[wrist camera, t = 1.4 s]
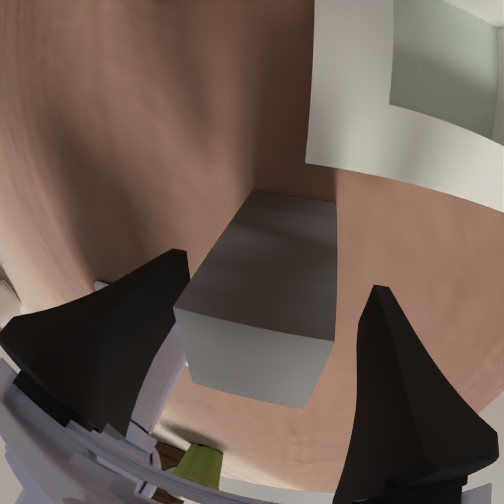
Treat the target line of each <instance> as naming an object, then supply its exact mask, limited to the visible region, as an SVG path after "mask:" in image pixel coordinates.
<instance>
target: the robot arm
mask: <svg viewBox="0 0 504 504" xmlns="http://www.w3.org/2000/svg"><path fill="white" fill-rule="evenodd" d="M189 282H190V274H189V267H188V259H187V252H186V251H184V250H178V249H171V250H169V251H167V252H165V253H163V254H162V255H160V256H158V257H156V258H155V259H153V260H151V261H150V262H148V263H146V264H145V265H143V266H141V267H140V268H138V269H136V270H135V271H133V272H131V273H129V274H128V275H126V276H124V277H122V278H120V279H119V280H117V281H115V282H113V283H111V284H110V285H109V284H106V283H103V282H100V281H96V282H95V283H94V287H95V290H96V291H95V292H93V293H91V294H89V295H87V296H84V297H82V298H79V299H76V300H74V301H71V302H69V303H66V304H63V305H60V306H57V307H54V308H51V309H47V310H43V311H39V312H35V313H30V314H25V315H20V316H14V317H13V318H11V320H10V321H9V322H8V323H7V324H6V325H5V326H4V328H3V329H2V330H1V331H0V345H1V347H2V348H3V349H4V350H5V352H6V353H7V354H8V355H9V356H10V358H11V359H12V360H13V361H14V362H15V364H16V365H17V366H18V367H19V368H20V369H21V371H20V372H19V374H17V373H16V371H15V370H14V369H13V368H12V367H10V365H8V363H7V362H6V361H5V360H4V359H3V358H0V435H1V437H2V439H3V440H4V442H5V443H6V445H5V448H6V450H7V451H6V453H5V458H6V460H7V462H8V464H9V465H10V467H11V469H12V471H13V472H14V474H15V476H16V477H17V478H18V480H19V482H20V483H21V485H22V487H23V490H22V492H21V494H20V495H19V497H18V499H17V501H16V503H15V504H162V503H160V502H158V501H155V500H153V499H151V497H152V496H153V494H154V492H155V491H156V488H157V487H159V488H161V489H163V490H166V491H168V492H171V493H173V494H176V495H178V496H181V497H184V498H186V499H189V500H192V501H195V502H198V503H201V504H278V503H273V502H266V501H262V500H256V499H252V498H247V497H243V496H239V495H234V494H231V493H227V492H223V491H219V490H216V489H213V488H210V487H206V486H203V485H200V484H197V483H194V482H192V481H189V480H186V479H183V478H181V477H178V476H175V475H173V474H170V473H168V472H166V471H163V470H161V462H160V457H159V454H158V451H157V450H156V449H155V448H154V447H155V445H156V443H157V440H156V439H154V438H152V437H151V434H152V432H153V430H154V427H155V425H156V423H157V421H158V419H159V417H160V415H161V413H162V411H163V409H164V407H165V405H166V403H167V401H168V399H169V397H170V395H171V393H172V391H173V389H174V387H175V385H176V383H177V381H178V379H179V377H180V375H181V373H182V371H183V369H184V367H185V366H188V363H187V360H186V356H185V353H184V349H183V345H182V342H181V338H180V334H179V330H178V326H177V322H176V318H175V314H174V310H173V306H174V304H175V303H176V301H177V300H178V298H179V297H180V295H181V294H182V292H183V291H184V289H185V288H186V286H187V285H188V283H189ZM356 347H357V401H356V411H355V418H354V424H353V430H352V435H351V440H350V444H349V449H348V453H347V457H346V461H345V465H344V468H343V472H342V475H341V478H340V481H339V484H338V487H337V490H336V492H335V495H334V498H333V503H332V504H491V489H492V484H490V483H489V484H486V485H484V486H481V487H477V488H474V489H471V490H468V491H465V492H462V486H464V485H466V484H467V479H468V475H470V474H472V473H474V472H477V471H478V470H481V469H483V468H485V467H487V466H489V465H490V464H492V463H493V462H495V461H496V460H497V459H498V457H499V447H498V435H497V432H496V431H495V430H494V429H493V428H492V427H490V426H489V425H488V424H487V423H486V422H485V421H484V420H483V419H481V417H479V415H478V414H477V413H476V412H475V411H474V410H473V409H472V408H471V407H470V406H469V405H468V404H467V403H466V402H465V401H464V400H463V398H462V397H461V396H460V395H459V394H458V393H457V391H456V390H455V389H454V388H453V386H452V385H451V384H450V383H449V382H448V380H447V379H446V378H445V376H444V375H443V374H442V372H441V371H440V369H439V368H438V367H437V365H436V364H435V363H434V361H433V360H432V358H431V357H430V355H429V354H428V352H427V351H426V349H425V347H424V346H423V344H422V343H421V341H420V340H419V338H418V336H417V335H416V333H415V331H414V330H413V328H412V326H411V324H410V323H409V321H408V319H407V318H406V316H405V314H404V312H403V311H402V309H401V307H400V305H399V304H398V302H397V300H396V298H395V297H394V295H393V293H392V291H391V290H390V288H389V287H386V286H380V285H373V288H372V291H371V293H370V296H369V298H368V301H367V303H366V306H365V308H364V310H363V313H362V315H361V317H360V320H359V322H358V333H357V346H356Z"/></svg>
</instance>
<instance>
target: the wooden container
mask: <svg viewBox="0 0 504 504" xmlns="http://www.w3.org/2000/svg"><path fill="white" fill-rule="evenodd" d="M154 448H155V449H156V450H157V451H158V454H159V457H160V462H161V470H163V471H166V472H168V473H170V474H171V473H173V472H174V470H175V469H176V467H177V466H178V464H179V463H180V461H181V460H182V458H183V457H184V455H185V453H186V452H184V451H181V450H179V449H177V448H174V447H172V446H169V445H167V444H164V443H161V442H157V443H156V445H155V447H154ZM151 499H153V500H155V501H158V502H160V503H162V504H183V503H184V500H185V498H184V497H181V496H178V495H176V494H173V493H171V492H168V491H166V490H163V489H161V488H159V487H157V488H156V491H155V492H154V494H153V496H152V497H151Z"/></svg>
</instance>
